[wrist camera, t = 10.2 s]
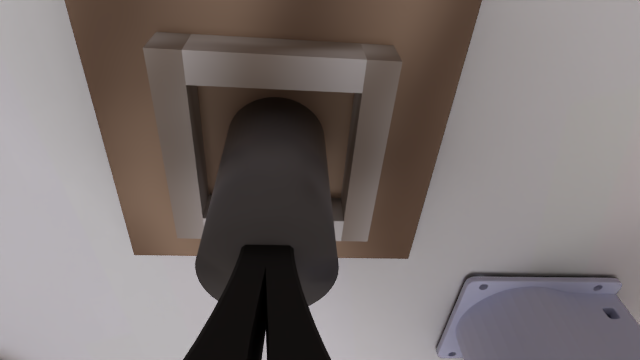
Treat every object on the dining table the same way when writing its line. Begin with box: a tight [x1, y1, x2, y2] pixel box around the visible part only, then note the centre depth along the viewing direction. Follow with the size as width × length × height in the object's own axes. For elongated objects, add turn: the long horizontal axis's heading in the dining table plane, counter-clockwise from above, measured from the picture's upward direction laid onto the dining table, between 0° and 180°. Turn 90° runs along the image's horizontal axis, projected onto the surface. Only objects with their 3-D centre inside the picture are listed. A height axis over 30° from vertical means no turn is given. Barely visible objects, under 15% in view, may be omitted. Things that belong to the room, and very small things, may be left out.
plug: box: [195, 97, 339, 306], centre depth 15 cm, size 4×4×7 cm
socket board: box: [65, 0, 482, 259], centre depth 17 cm, size 14×14×2 cm
